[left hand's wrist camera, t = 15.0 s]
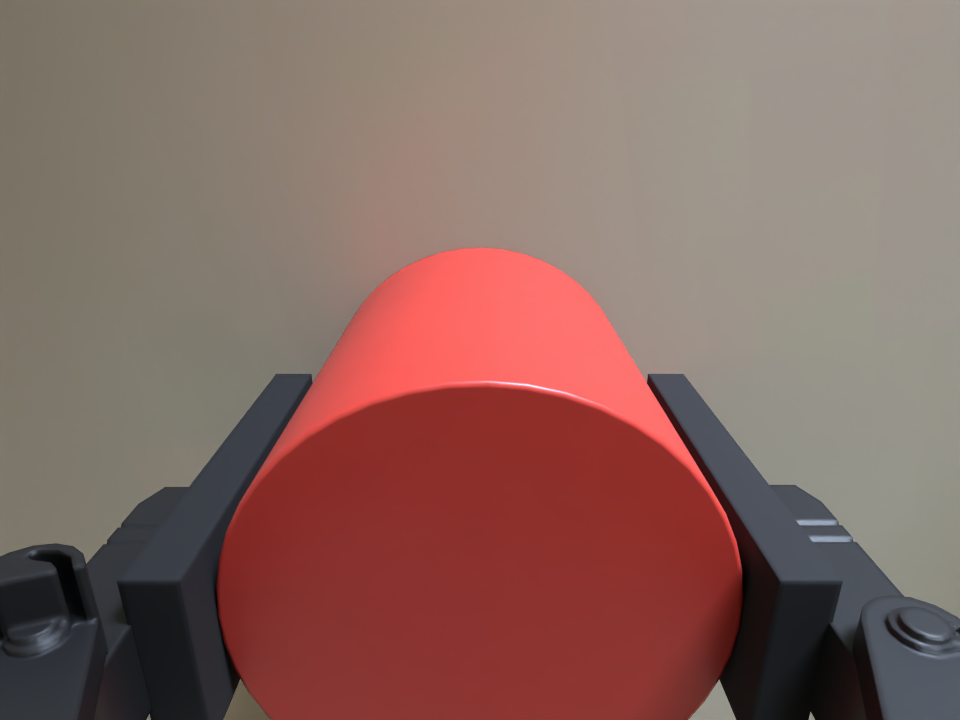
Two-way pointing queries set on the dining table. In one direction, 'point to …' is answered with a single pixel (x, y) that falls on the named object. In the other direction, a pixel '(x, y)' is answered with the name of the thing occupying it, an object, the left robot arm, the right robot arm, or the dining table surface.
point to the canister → (479, 519)
